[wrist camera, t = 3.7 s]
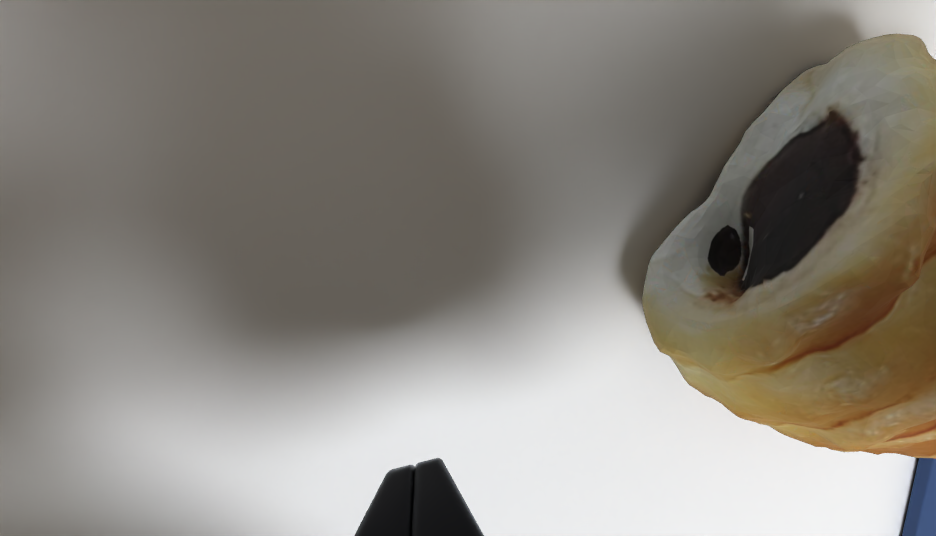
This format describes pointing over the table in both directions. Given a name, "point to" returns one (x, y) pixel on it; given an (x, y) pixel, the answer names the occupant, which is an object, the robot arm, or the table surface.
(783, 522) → the table surface
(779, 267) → the pastry
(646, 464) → the table surface
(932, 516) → the napkin
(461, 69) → the table surface
